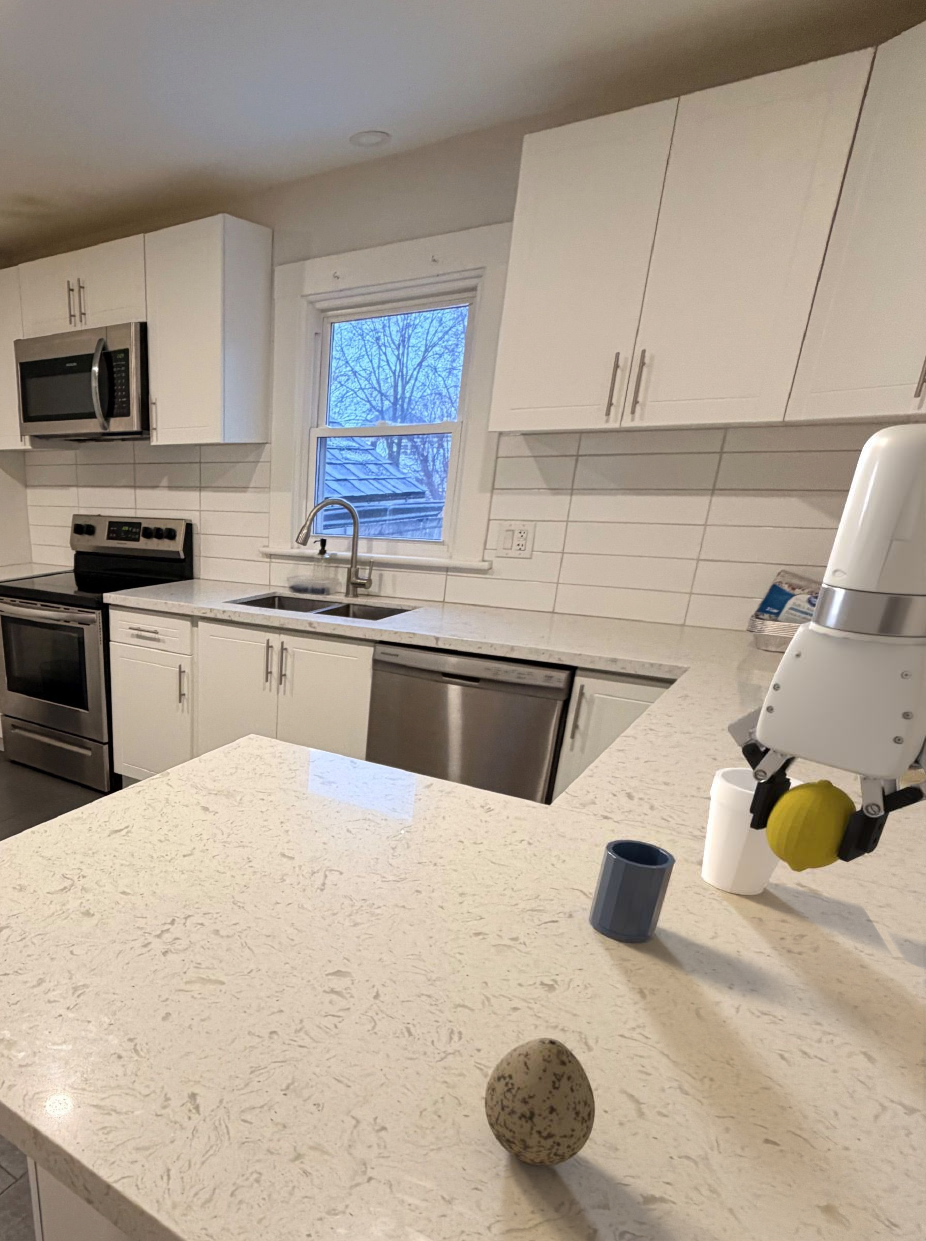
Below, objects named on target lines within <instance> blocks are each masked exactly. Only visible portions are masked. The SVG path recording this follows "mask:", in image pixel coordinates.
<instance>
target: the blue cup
mask: <svg viewBox="0 0 926 1241" xmlns="http://www.w3.org/2000/svg"><path fill="white" fill-rule="evenodd" d="M676 863H677V859H675V856H674V855H673V854H672V853H670V852H669V851H667V850H666V849H665V848H662V847H660V846H658V845H656V844H652V843H649V842H645V841H641V840H634V839H616V840H613V841H609V842H608V843H607V844H606V846H605V848H604V853H603V855H602V861H601V864H600V869H599V872H598V876H597V881H596V886H595V888H594V894H593V898H592V901H591V905H590V909H589V916H588V922H589V924H590V925H591V927H592V928H593V929H595V930H596V931H597V932H599V933H600V934H602V935H604V936H605V937H608V938H610V939H613V940H617V941H620V942H625V943H631V944H641V943H646V942H649V941H651V940H653V939H654V937H655V936H656V931H657V929H658V926H659V923H660V918H661V915H662V912H663V908H664V904H665V901H666V898H667V893H668V890H669V887H670V885H671V884H670V883H671V880H672V876H673V873H674V870H675V866H676Z"/></svg>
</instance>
